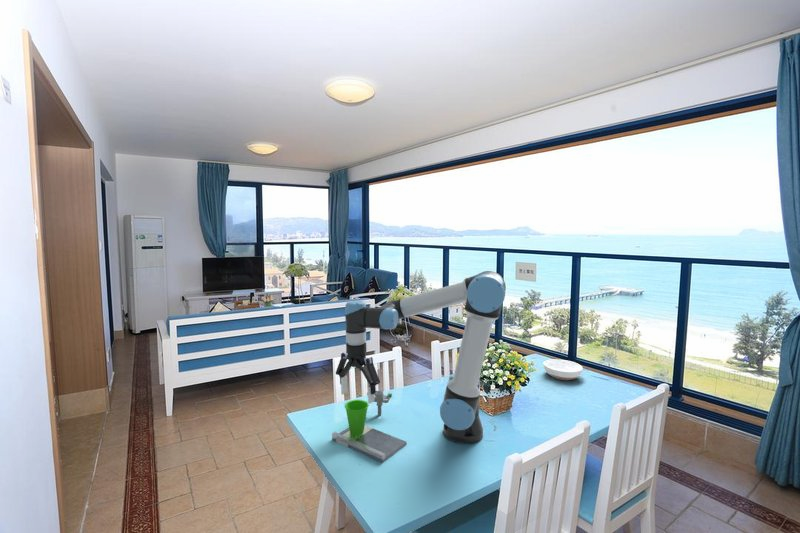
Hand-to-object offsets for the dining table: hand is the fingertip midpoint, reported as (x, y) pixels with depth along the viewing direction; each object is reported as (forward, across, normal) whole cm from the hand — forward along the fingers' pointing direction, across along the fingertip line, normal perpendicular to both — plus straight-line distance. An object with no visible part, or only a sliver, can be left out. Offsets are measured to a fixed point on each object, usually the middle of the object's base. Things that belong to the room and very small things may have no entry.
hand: (357, 397), depth 147 cm
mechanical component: (+15, +4, -17) cm, 23 cm away
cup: (+14, +1, 0) cm, 14 cm away
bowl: (+17, -47, -110) cm, 121 cm away
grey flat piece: (+15, -6, +1) cm, 16 cm away
